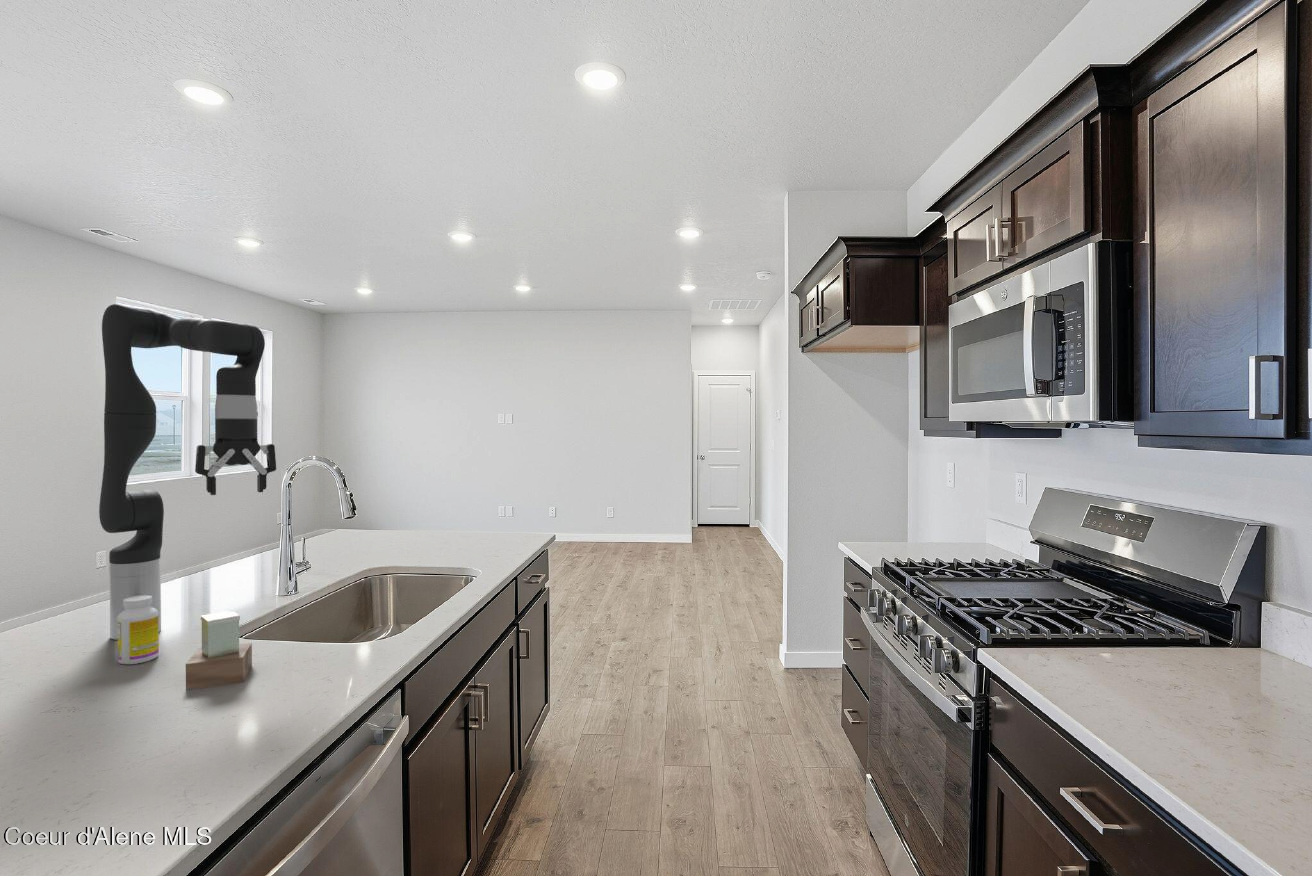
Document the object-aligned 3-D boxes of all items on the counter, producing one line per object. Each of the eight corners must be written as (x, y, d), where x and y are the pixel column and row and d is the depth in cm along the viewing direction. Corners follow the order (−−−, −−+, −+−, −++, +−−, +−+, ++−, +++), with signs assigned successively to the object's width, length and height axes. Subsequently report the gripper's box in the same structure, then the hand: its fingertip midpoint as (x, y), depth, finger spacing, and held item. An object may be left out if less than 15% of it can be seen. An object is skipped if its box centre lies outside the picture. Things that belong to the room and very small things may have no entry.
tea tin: (201, 652, 125) (200, 615, 125) (232, 645, 129) (232, 610, 129) (207, 658, 122) (207, 621, 121) (239, 652, 125) (239, 615, 125)
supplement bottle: (167, 654, 137) (166, 594, 137) (139, 666, 130) (138, 602, 130) (138, 653, 138) (137, 593, 137) (108, 664, 131) (108, 601, 131)
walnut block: (198, 673, 127) (198, 648, 127) (251, 667, 131) (251, 642, 131) (185, 690, 119) (185, 663, 119) (243, 683, 123) (242, 657, 123)
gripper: (270, 417, 145) (271, 490, 145) (192, 416, 135) (193, 494, 135) (278, 417, 139) (279, 492, 140) (198, 416, 130) (199, 497, 130)
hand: (237, 493), depth 137 cm, fingers open, 8 cm apart
